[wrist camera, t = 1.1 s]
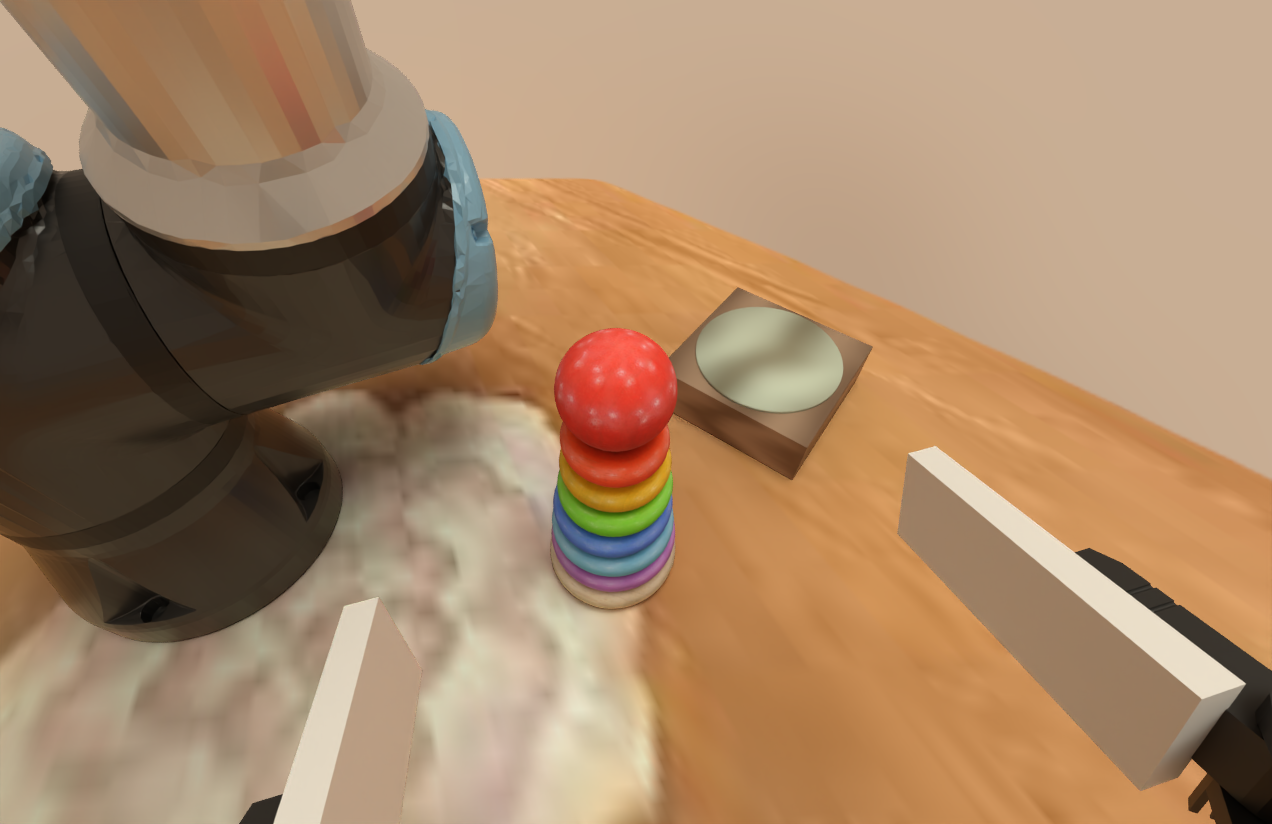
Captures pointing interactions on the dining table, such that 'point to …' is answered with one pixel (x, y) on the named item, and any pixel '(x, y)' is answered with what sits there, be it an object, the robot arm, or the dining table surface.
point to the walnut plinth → (765, 379)
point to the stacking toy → (614, 469)
